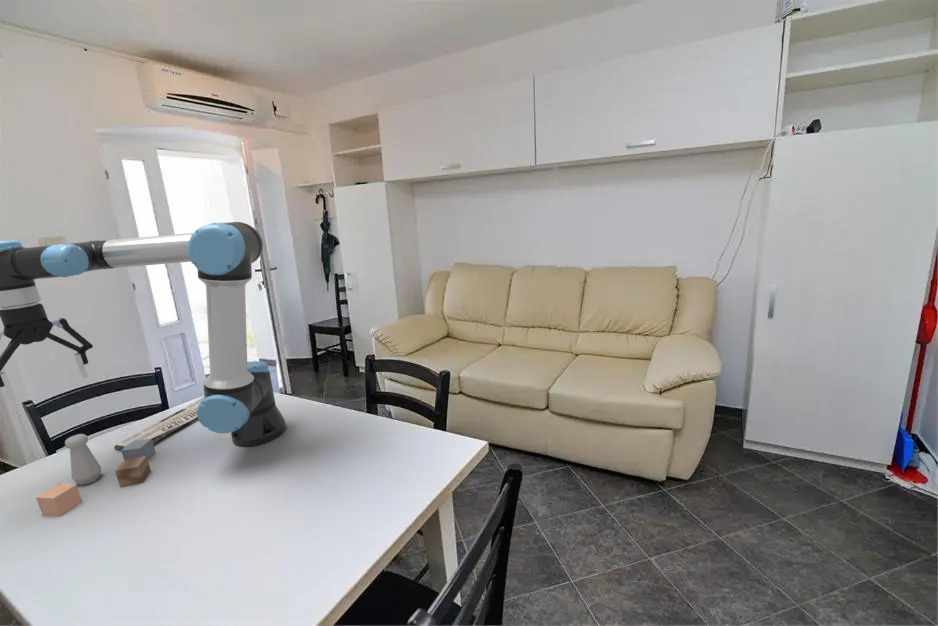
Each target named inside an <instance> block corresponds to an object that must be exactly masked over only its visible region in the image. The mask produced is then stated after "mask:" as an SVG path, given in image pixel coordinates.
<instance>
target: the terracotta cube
mask: <svg viewBox="0 0 938 626" xmlns="http://www.w3.org/2000/svg"><path fill="white" fill-rule="evenodd" d="M35 499H36V502H37V504H38V506H39V509H40V512H41V515H42V516H48V517H49V516H51V517H62V516H63V515H65V514H66V513H67V512H69V511H71V510H72V509H73V508H76V506H78V505H80V504H82V502H83V500H82V497H81V495H80V491H79V489H78V486H77V483H76V484H74V483H58V484H56V485H54V486H53V487H51V488H49V489H47V490H46V491H44V492H43V493H40V494H39V495H37V496H36V497H35Z"/></svg>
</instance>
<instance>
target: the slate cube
mask: <svg viewBox="0 0 938 626" xmlns="http://www.w3.org/2000/svg"><path fill="white" fill-rule="evenodd" d="M120 451H121V455H122V458H123V461H124V460H127V459H132V458H138V457H143V456H147V459H148V461H149V460H151V459H152V457H154V456H156V454H157V453H156V449H155V446H154V443H153V442H152V439H143V440H134V441H132V442H131V443H129V444H128V445H127V446H126V447H124V448H121V449H120Z"/></svg>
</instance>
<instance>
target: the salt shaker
mask: <svg viewBox="0 0 938 626" xmlns="http://www.w3.org/2000/svg"><path fill="white" fill-rule="evenodd" d="M88 440H89V438H88V436H87V434H84V433H77V434H75V435H72V436H69V437H68V438H66V440H64V446H65V448H67V449H69V453H70V455H69V456H70V468H71V471H70V472H71V479H72V481H74V482H75V483H76V484H78V486H79V485H80V486H86V485H89V484H92V483H95V482H96V481H97V480H99V479H100V476H101V472H102V467H101V465H100V463H99V462H98V460H97V459H96V457H95V455H94V453H92V451H91V450H90V448H89V447H88V445H87V443H88Z"/></svg>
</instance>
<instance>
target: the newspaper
mask: <svg viewBox="0 0 938 626" xmlns="http://www.w3.org/2000/svg"><path fill="white" fill-rule="evenodd" d="M203 399H204V396H203V397H201V398H199V399H197V400H196V401H194V402H192V403H190V404H188V405H186V406H185V407H183V408H181V409H180V410H177V411H175V412H174V413H172V414H170V415H168V416H166V417H165V418H163V419H161V420H159V421H157V422H156V423H154V424H152V425H150V426H148V427H146V428H145V429H143V430H141V431H139V432H138V433H135V434H134V435H132V436H130V437H128V438H126V439H125V440H123V441H121V442H119V443H118V444H116V445H114V447H113V449H114V450H122V449H123V448H124V447H126V446H127V445H128V444H129V443H131V442H132V441H134V440H143V439H152V442H153V444H155V443H157V442H158V441H160V440H162V439H163V438H166V437H167V436H169V435H170V434H172V433H173V432H175V431H177V430H179V429H181V428H182V427H184V426H185V425H188V424H190V422H193V421H195V420H196V419H198V417H197V408H198V406H199V403H200V402H201V401H202V400H203Z"/></svg>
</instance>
